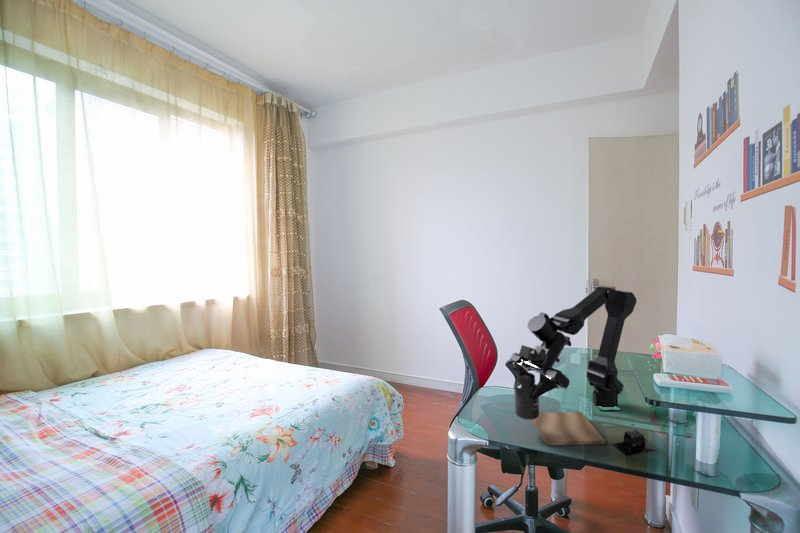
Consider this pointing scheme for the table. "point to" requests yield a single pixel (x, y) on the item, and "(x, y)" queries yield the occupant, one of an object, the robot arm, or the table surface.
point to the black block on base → (633, 444)
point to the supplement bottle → (526, 397)
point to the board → (567, 429)
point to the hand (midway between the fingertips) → (523, 394)
